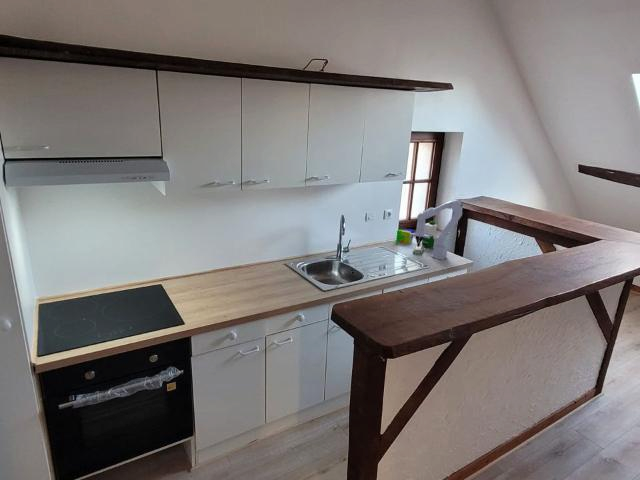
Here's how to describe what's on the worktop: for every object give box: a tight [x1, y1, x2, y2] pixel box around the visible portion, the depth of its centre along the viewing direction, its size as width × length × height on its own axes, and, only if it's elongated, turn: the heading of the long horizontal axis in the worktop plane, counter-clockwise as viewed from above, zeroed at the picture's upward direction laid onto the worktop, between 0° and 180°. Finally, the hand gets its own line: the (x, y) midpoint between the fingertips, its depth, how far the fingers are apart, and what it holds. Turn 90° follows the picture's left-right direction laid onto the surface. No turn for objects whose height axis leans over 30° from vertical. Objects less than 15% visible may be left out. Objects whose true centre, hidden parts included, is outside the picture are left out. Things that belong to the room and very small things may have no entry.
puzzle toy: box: [395, 227, 415, 245], centre depth 330 cm, size 10×10×10 cm
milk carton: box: [421, 220, 438, 249], centre depth 320 cm, size 9×9×20 cm
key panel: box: [412, 244, 425, 256], centre depth 310 cm, size 17×6×2 cm, turn 161°
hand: (418, 246), depth 304 cm, fingers closed
